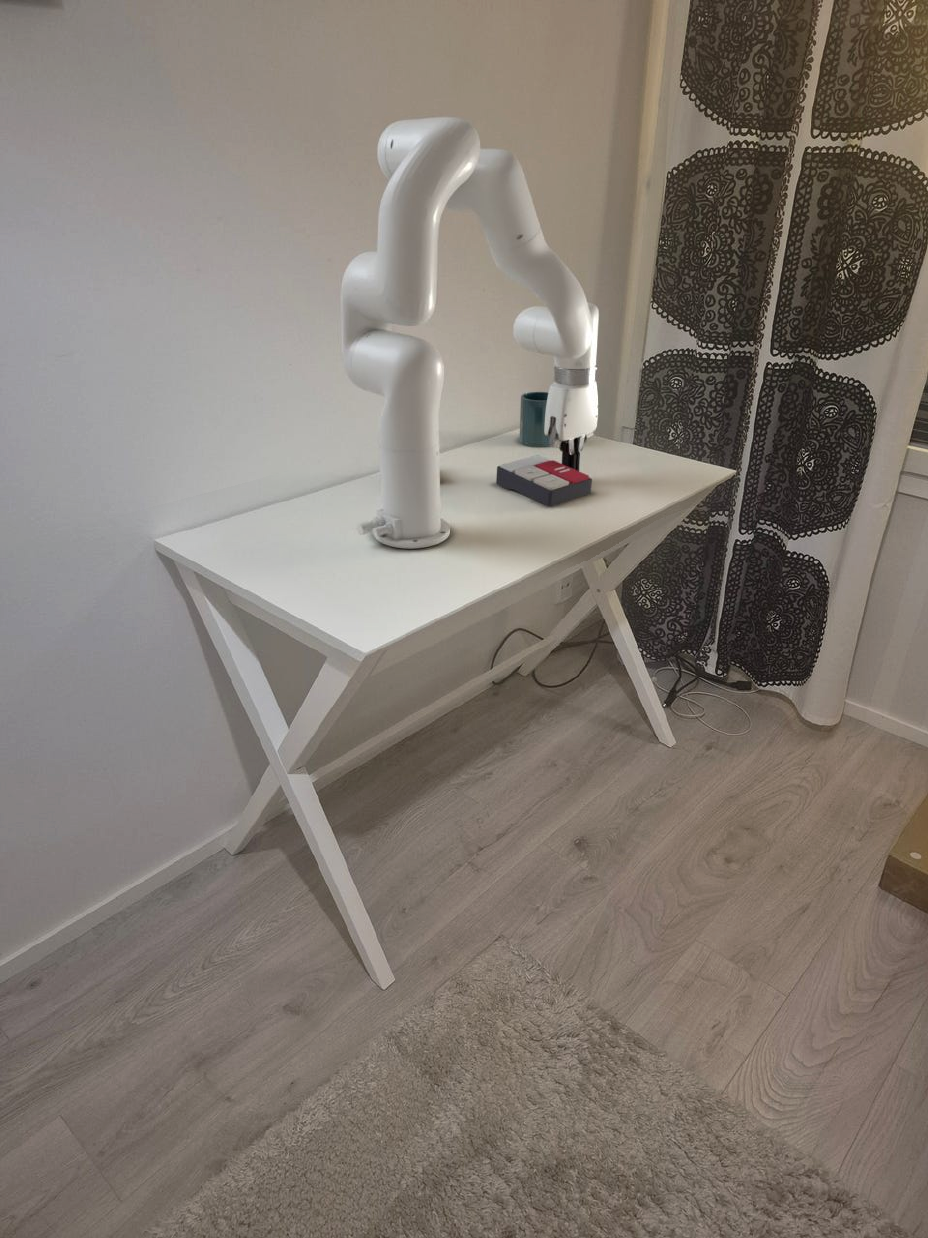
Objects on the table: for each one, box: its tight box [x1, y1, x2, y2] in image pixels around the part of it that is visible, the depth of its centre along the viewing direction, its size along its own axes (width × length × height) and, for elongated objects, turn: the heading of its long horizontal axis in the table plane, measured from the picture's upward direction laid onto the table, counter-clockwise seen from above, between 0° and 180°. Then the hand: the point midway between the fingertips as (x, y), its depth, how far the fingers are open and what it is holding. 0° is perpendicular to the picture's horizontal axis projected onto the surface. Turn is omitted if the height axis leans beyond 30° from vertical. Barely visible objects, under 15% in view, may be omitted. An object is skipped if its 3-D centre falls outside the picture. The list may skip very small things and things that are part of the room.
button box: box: [495, 454, 593, 507], centre depth 151 cm, size 11×4×15 cm
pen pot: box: [519, 391, 550, 448], centre depth 177 cm, size 8×8×10 cm
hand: (570, 471), depth 155 cm, fingers closed
